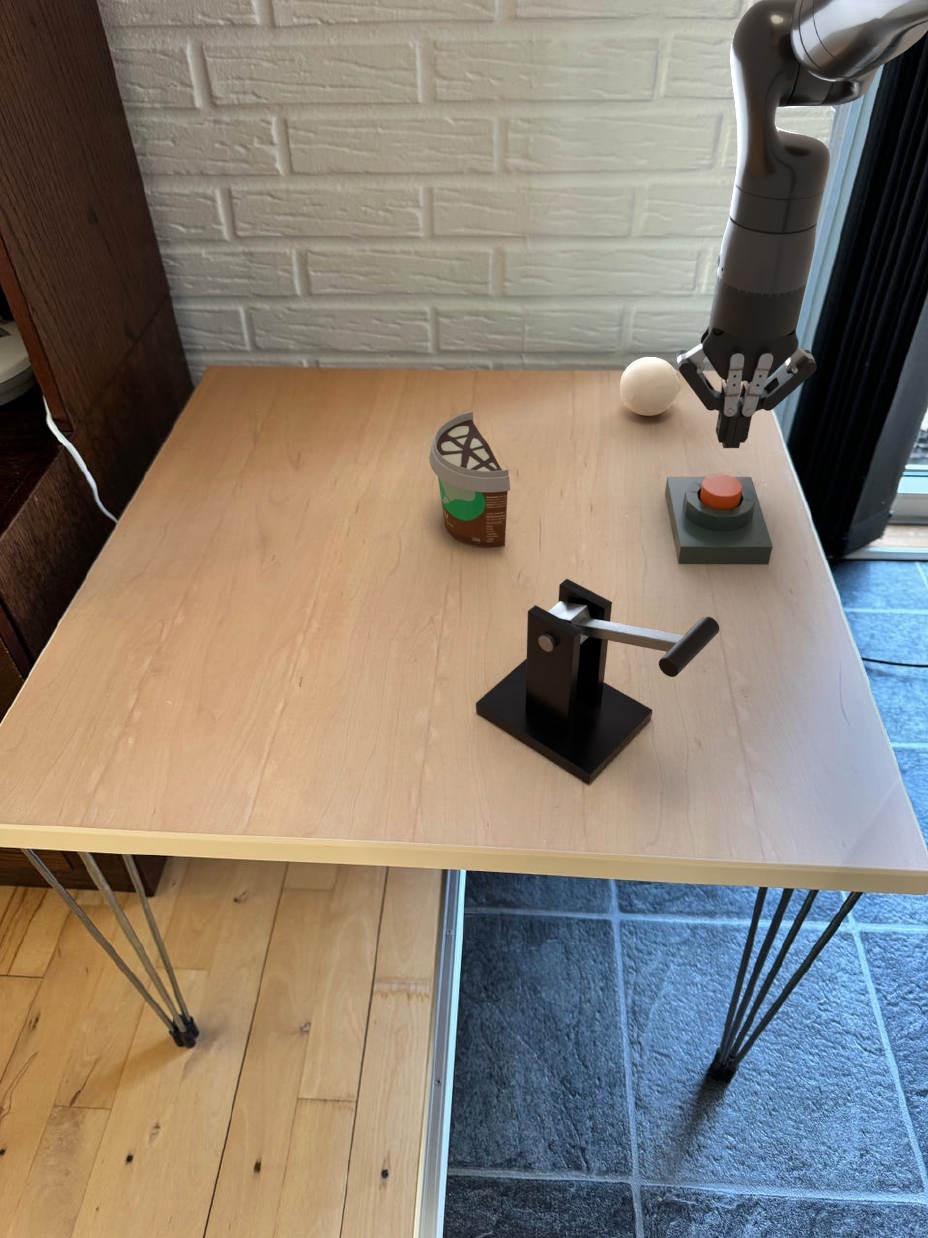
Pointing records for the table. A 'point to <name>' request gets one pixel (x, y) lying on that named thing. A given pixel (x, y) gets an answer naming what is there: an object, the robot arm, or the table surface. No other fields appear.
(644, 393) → the cream ball
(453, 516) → the food container
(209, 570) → the table surface
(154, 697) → the table surface
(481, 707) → the bracket
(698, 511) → the button box
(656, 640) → the lever
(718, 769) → the table surface
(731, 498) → the button
